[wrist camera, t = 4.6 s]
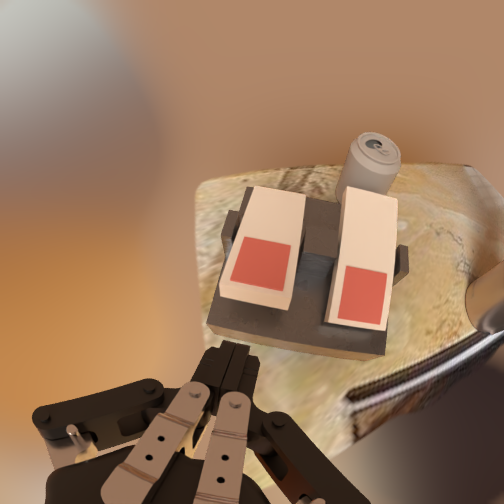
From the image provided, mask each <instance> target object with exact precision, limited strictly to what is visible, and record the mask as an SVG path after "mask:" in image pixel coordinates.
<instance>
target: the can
mask: <svg viewBox="0 0 504 504" xmlns="http://www.w3.org/2000/svg"><path fill="white" fill-rule="evenodd" d="M400 157H401V155H400V151H399V148H398V147H397V145H395V143H394V142H393V141H392V140H390V139H389V138H387V137H386V136H384V135H382V134H379V133H374V132H364V133H362V134H360V135H359V137H358V138H356V139H354V140H353V142H352V143H351V145H350V148H349V152H348V154H347V158H346V161H345V164H344V167H343V170H342V173H341V175H340V178H339V181H338V184H337V187H336V192H335V193H336V198H337V200H338V202H339V203H340V204H342V196H343V192H344V191H345V189H346V187H347V186H349V187H353V188H358V189H362V190H366V191H370V192H374V193H378V194H381V195H386V193H387V192H388V190H389V188H390V186H391V184H392V183H393V181H394V179H395V177H396V175H397V173H398V172H399V170H400V167H401V160H400Z"/></svg>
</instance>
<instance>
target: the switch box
mask: <svg viewBox="0 0 504 504" xmlns="http://www.w3.org/2000/svg"><path fill="white" fill-rule="evenodd" d="M253 189H254V188H253V187H247V188H246V191H245V194H244V197H243V201H242V204H241V207H240V210H239V212H238V211H232V210H229V212H228V215H227V218H226V221H225V224H224V227H223V230H222V233H221V239H222V243H223V248H224V253H225V260H224V263H223V267H222V270H221V273H220V277H219V280H218V284H217V287H216V291H215V294H214V298H213V301H212V305H211V308H210V312H209V315H208V319H207V322H206V324H207V325H208V326H209V328H210V329H211V330H212V331H213V333H214V334H217V335H221V336H225V337H229V338H234V339H238V340H242V341H247V342H251V343H256V344H261V345H266V346H271V347H276V348H281V349H286V350H292V351H297V352H303V353H309V354H315V355H322V356H328V357H335V358H343V359H350V360H359V361H367V360H370V359H374V358H378V357H381V356H385V348H386V337H387V326H388V319H387V325H386V330H385V331H381V330H373V329H366V328H359V327H353V326H346V325H340V324H334V323H328V322H324V319H325V314H326V309H327V303H328V298H329V292H330V287H331V281H332V274H333V268H334V262H335V260H336V258H337V248H338V235H339V224H340V215H341V206H342V204H337V203H333V202H328V201H323V200H318V199H313V198H308V197H306V200H305V208H304V216H303V224H302V231H301V239H300V246H299V253H298V260H297V267H296V273H295V280H294V286H293V292H292V298H291V302H290V305H289V308H288V310H283V309H278V308H273V307H268V306H263V305H258V304H254V303H249V302H244V301H240V300H235V299H231V298H226V297H222V296H220V288H219V282H220V279H221V277H222V274H223V271H224V268H225V265H226V263H227V260H228V257H229V254H230V252H231V249H232V246H233V243H234V241H235V238H236V235H237V232H238V230H239V227H240V224H241V222H242V219H243V216H244V213H245V211H246V208H247V205H248V203H249V200H250V197H251V195H252V192H253ZM408 273H409V260H408V246H404V245H399V246H398V247H397V248H396V252H395V264H394V275H393V284H392V287H393V286H394V285H395V284H396V283H398V282H399V281H400V280H401V279H402V278H403V277H405V276H406V275H407V274H408Z"/></svg>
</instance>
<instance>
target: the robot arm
mask: <svg viewBox="0 0 504 504" xmlns="http://www.w3.org/2000/svg"><path fill="white" fill-rule="evenodd" d="M466 310H467V314H468V317H469V319H470V321H471V323H472V324H473V326H474V327H475V328H476V329H477V330H478V331H480V332H483V333H485V332H489V333H490V334H491V335H493V334H495V333H498V332H500V331H503V330H504V260H503V261H502V262H500V263H499V264H498V265H496V266H495V267H493V268H492V269H491V270H489V271H488V272H486V273H485V274H484V275H482V276H481V277H479V278H477V279H476V280H475V281H474V282H472V283H471V284H470V285H469V287H468V289H467V293H466ZM249 351H250V346H248V345H244V344H239V343H237V345H236V343H234V342H230V341H225V340H223V341H222V344H221V346H220V348H216V347H211V348H209V349H208V350H206V351H205V353H204V355H203V357H202V359H201V361H200V364H199V365H198V367H197V369H196V371H195V373H194V375H193V377H192V379H191V381H190V382H188V383H186V384H184V385H183V386H182V387H181V388H176V389H174V388H164V387H163V385H162V384H161V383H160V382H159V381H157V380H155V379H143V380H140V381H136V382H133V383H130V384H127V385H123V386H120V387H117V388H114V389H110V390H107V391H103V392H99V393H95V394H92V395H88V396H84V397H80V398H76V399H72V400H68V401H64V402H59V403H55V404H50V405H45V406H41V407H39V408H37V409H36V410H35V411H34V412H33V415H32V420H33V423H34V425H35V426H36V428H37V429H38V430H39V432H40V434H41V436H42V437H43V438H44V440H45V443H46V446H47V449H48V452H49V455H50V458H51V461H52V464H53V466H54V469H55V471H53V472H52V473H51V474H50V475H49V477H48V479H47V482H46V499H45V504H271V503H270V502H269V501H268V499H267V498H266V496H265V495H264V493H263V492H262V490H261V489H260V487H259V486H258V485H257V484H256V482H255V481H254V480H252V479H251V478H250V477H249V476H247V475H245V474H244V473H243V466H244V459H245V451H246V447H247V448H249V449H251V450H253V451H254V454H255V456H256V457H257V458H258V460H259V461H260V463H261V464H262V465H263V467H264V468H265V470H266V471H267V472H268V474H269V475H270V476H271V478H272V479H273V480H274V482H275V483H276V484H277V486H278V487H279V488H280V490H281V491H282V492H283V493H284V495H285V496H286V497H287V498H288V500H289V501H290V502H291V503H292V504H371V503H370V501H369V500H368V499H367V498H366V497H365V496H364V495H363V494H362V493H360V492H359V490H358V489H356V487H355V486H353V484H351V482H350V481H348V480H347V478H345V476H343V474H342V473H341V472H340V471H339V470H338V469H337V468H336V467H335V466H334V465H333V464H332V463H331V462H330V461H329V460H328V459H327V457H326V456H325V455H324V454H323V453H322V452H321V451H320V450H319V449H318V448H317V447H316V445H315V444H314V443H313V442H312V441H311V440H310V439H309V438H308V436H307V435H306V434H305V433H304V432H303V431H302V430H301V428H300V427H299V426H298V425H297V424H296V423H295V421H294V420H293V419H292V418H291V417H290V416H289V415H288V414H286V413H283V412H278V411H275V412H270V413H266V412H263V411H261V410H260V409H258V408H257V407H256V406H255V405H254V403H253V393H254V389H255V384H256V380H257V375H258V371H259V367H260V362H259V359H258V357H256V356H251V355H249ZM211 415H213V416H217V417H216V421H215V425H214V430H213V431H212V433H211V437H210V441H209V445H208V449H207V453H206V457H205V460H198V459H193V456H194V453H195V451H196V449H197V447H198V445H199V442H200V441H201V439H202V437H203V435H204V433H205V431H206V429H207V426H208V422H209V420H210V417H211ZM140 437H141V438H140ZM138 438H140V440H139V441H138V443H137V444H136V445H131V446H127V447H124V448H121V449H119V450H116V451H113V452H110V453H107V454H104V455H102V456H98V457H96V456H97V453H98V451H101V450H104V449H107V448H111V447H114V446H117V445H120V444H123V443H126V442H129V441H132V440H135V439H138Z"/></svg>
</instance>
